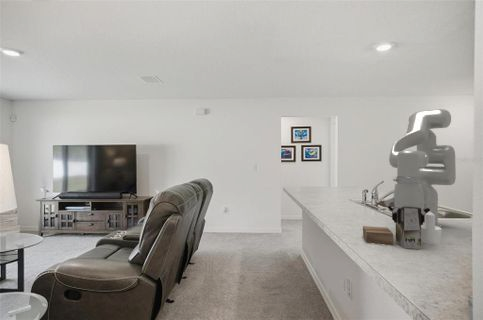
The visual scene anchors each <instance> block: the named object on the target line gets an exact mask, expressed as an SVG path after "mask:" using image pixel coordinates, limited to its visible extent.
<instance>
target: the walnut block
mask: <svg viewBox="0 0 483 320" xmlns="http://www.w3.org/2000/svg"><path fill="white" fill-rule="evenodd" d="M362 236H363V239H364V241H365V243H366V244H371V243H374V244H373V245H382V244H385V245H384V246H394V233H393V232H392V231H391V230H390V229H389V228H388V227H383V226H382V227H381V226H370V225H368V226H367V225H362Z"/></svg>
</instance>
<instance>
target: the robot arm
mask: <svg viewBox="0 0 483 320" xmlns="http://www.w3.org/2000/svg"><path fill="white" fill-rule="evenodd" d="M451 122H452V115H451V112H449V111H448V110H447V109H445V108H444V109H442V108H439V109H436V108H435V109H428V110H421V111H420V110H419V111H415V112H414V113H412V114H411V115H410V116H409V118H408V125H407V131H406V134H404V135H402V136H401V137H399V138H398V139H397V140H395V142H394V143H393V144H392V146H391V149H390V153H389V158H388V161H389V162H388V163H389V165H390V166H391V167H393V168H395V169H397V170H396V171H397V172H396V173H397V175H396V176H395V177H393V179H392V180H393V182H396V183H395V184H394V191H393V197H391V198H389V199H387V200H385V201H383V202H384V205H385V206H386V207H387V208H388V210H389V211H391V215H392V216H391V219H392V221H393V222H394V223H395V224H396V223H397V213H396V211H397V210H398V209H402V207H407V208H408V207H413V208H421V225H423V223H424V222H425V215H426V213H428V212H432V213H433V214H434V215H435V226H437V227H440V228H442V224H440V223H439V220H438V219H439V217H438V216H439V210H438V209H439V202H438V201H439V199H438V198H439V197H438V195H439V193H438V192H437V190H436V189H435V188H434V187H433V186H434V185H436V186H437V185H438V186H452V185H454V184H455V183H456V179H457V178H456V176H457V175H456V174H457V173H456V172H457V171H456V152H455V148H454V147H453V146H452V145H446V144H445V145H443V144H441V145H439V144H437V135H436V134H435V132H433V131H432V129H434V130H435V129H445V128H448V127H449V126H450V125H451ZM412 147H416V150H406V149H410V148H412ZM429 164H430V165H431V166H430V165H429ZM434 165H443V166H434ZM432 185H433V186H432ZM391 203H393V207H392V206H391V205H390V204H391Z"/></svg>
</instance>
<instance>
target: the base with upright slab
mask: <svg viewBox="0 0 483 320" xmlns="http://www.w3.org/2000/svg"><path fill="white" fill-rule="evenodd" d="M442 230H443V229H442V227H441V228H440V227H437V226H435V215H434V214H433V213H432V212H428V213H426V215H425V222H424V223H423V225H421V243H424V244H430V245H440V244H442V241H443V240H442V239H443V237H442V236H443V235H442Z"/></svg>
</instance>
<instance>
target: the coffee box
mask: <svg viewBox="0 0 483 320" xmlns="http://www.w3.org/2000/svg"><path fill="white" fill-rule="evenodd" d="M396 213H397V223H395V242H396V243H397V244H399V245H400V247H402V248H404V249H414V250H416V249H417V250H421V249H422V242H421V208H413V207H408V208H407V207H402V209H398V210H397V211H396Z"/></svg>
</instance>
